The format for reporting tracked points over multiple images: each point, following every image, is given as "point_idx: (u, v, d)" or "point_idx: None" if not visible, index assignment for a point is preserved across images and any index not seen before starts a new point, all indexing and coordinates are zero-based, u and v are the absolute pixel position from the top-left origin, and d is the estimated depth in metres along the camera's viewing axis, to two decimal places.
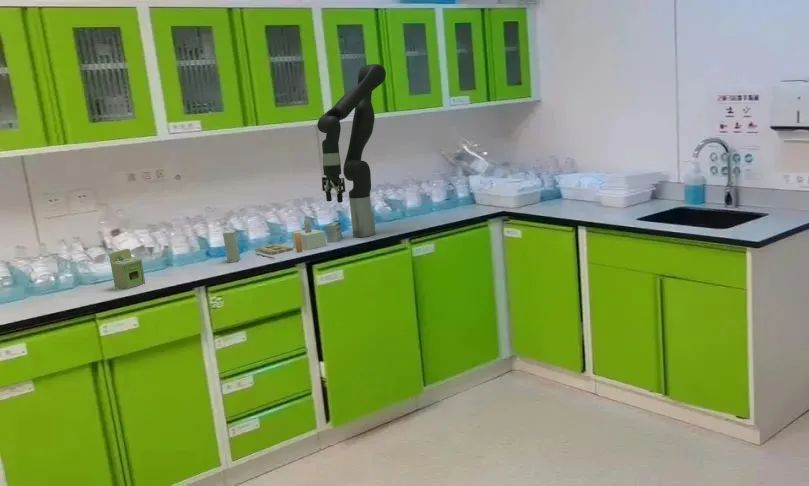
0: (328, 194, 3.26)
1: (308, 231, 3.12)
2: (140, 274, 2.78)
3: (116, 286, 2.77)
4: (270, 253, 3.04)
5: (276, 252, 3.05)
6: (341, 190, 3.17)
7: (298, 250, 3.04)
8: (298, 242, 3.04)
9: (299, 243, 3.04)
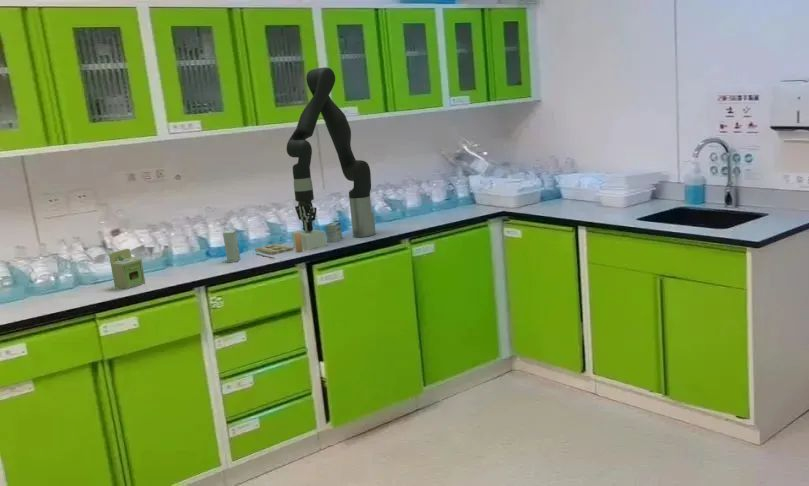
0: None
1: (308, 231, 3.12)
2: (140, 274, 2.78)
3: (116, 286, 2.77)
4: (270, 253, 3.04)
5: (276, 252, 3.05)
6: (311, 219, 3.08)
7: (298, 250, 3.04)
8: (298, 242, 3.04)
9: (299, 243, 3.04)
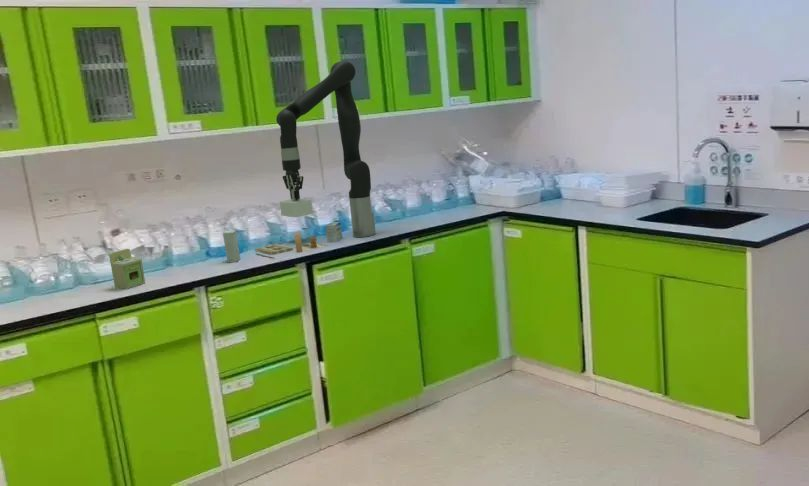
0: None
1: (295, 200, 3.21)
2: (140, 274, 2.78)
3: (116, 286, 2.77)
4: (270, 253, 3.04)
5: (276, 252, 3.05)
6: (298, 188, 3.17)
7: (298, 250, 3.04)
8: (298, 242, 3.04)
9: (299, 243, 3.04)
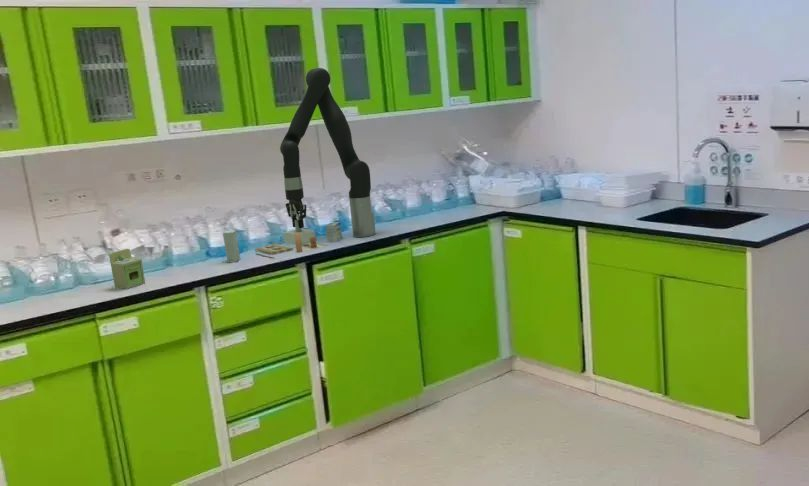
0: None
1: (298, 230, 3.24)
2: (140, 274, 2.78)
3: (116, 286, 2.77)
4: (270, 253, 3.04)
5: (276, 252, 3.05)
6: (302, 217, 3.19)
7: (298, 250, 3.04)
8: (298, 242, 3.04)
9: (299, 243, 3.04)
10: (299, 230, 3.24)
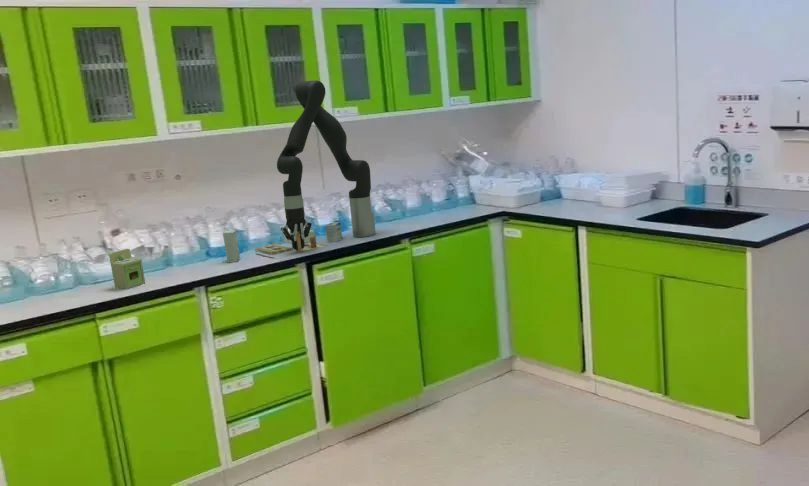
0: None
1: None
2: (140, 274, 2.78)
3: (116, 286, 2.77)
4: (270, 253, 3.04)
5: (276, 252, 3.05)
6: (287, 238, 3.02)
7: (297, 250, 3.04)
8: (298, 242, 3.04)
9: (298, 243, 3.04)
10: None
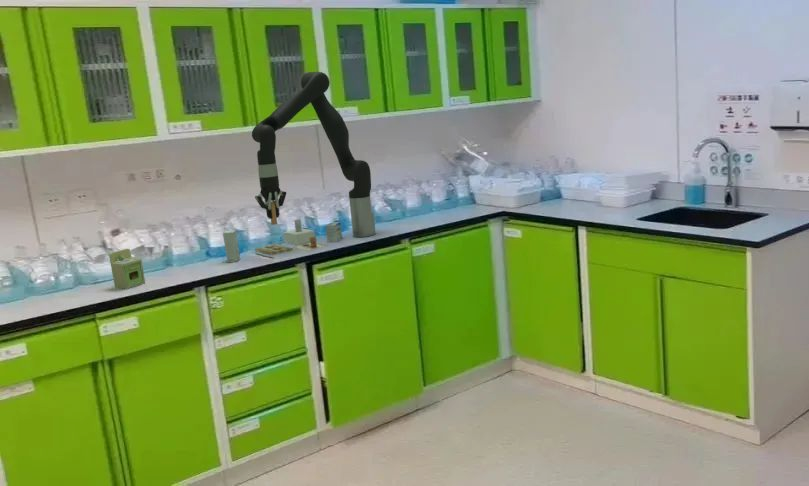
0: None
1: (298, 230, 3.24)
2: (140, 274, 2.78)
3: (116, 286, 2.77)
4: (270, 253, 3.04)
5: (276, 252, 3.05)
6: (261, 207, 3.04)
7: (272, 219, 3.06)
8: (272, 211, 3.05)
9: (273, 212, 3.05)
10: (299, 230, 3.24)
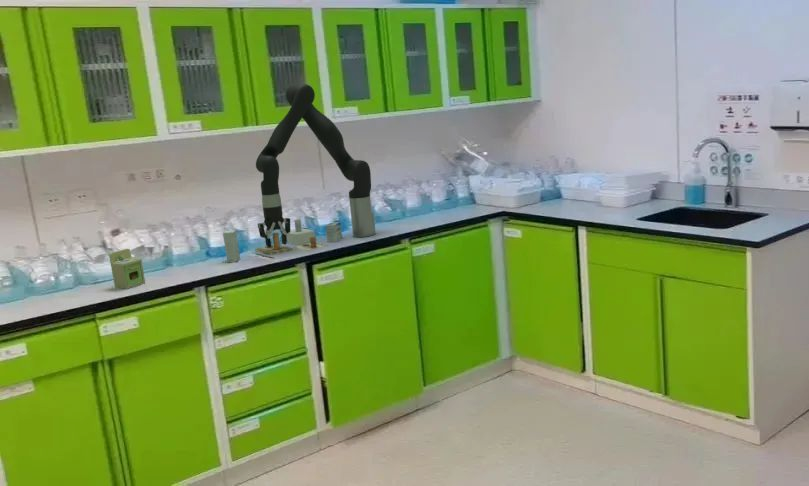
0: (282, 237, 3.11)
1: (298, 230, 3.24)
2: (140, 274, 2.78)
3: (116, 286, 2.77)
4: (270, 253, 3.04)
5: (276, 252, 3.05)
6: (260, 235, 3.05)
7: None
8: (276, 242, 3.08)
9: (277, 243, 3.08)
10: (299, 230, 3.24)
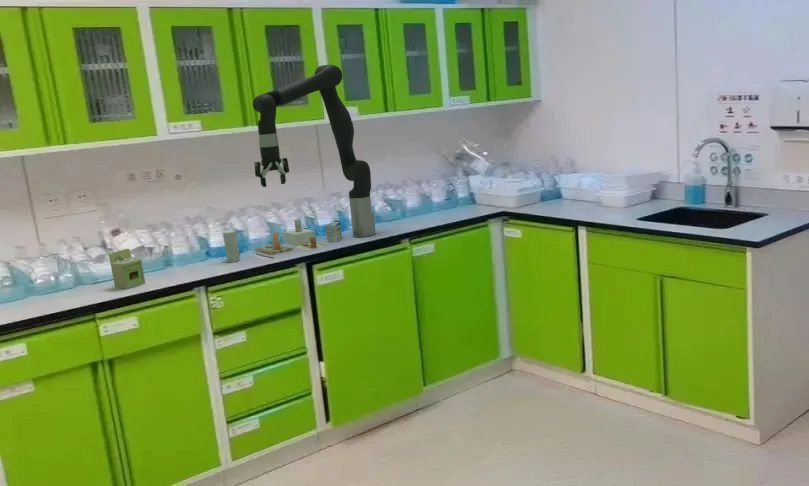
0: (281, 176, 3.10)
1: (298, 230, 3.24)
2: (140, 274, 2.78)
3: (116, 286, 2.77)
4: (270, 253, 3.04)
5: (276, 252, 3.05)
6: (255, 174, 3.03)
7: None
8: (276, 242, 3.08)
9: (277, 243, 3.08)
10: (299, 230, 3.24)
